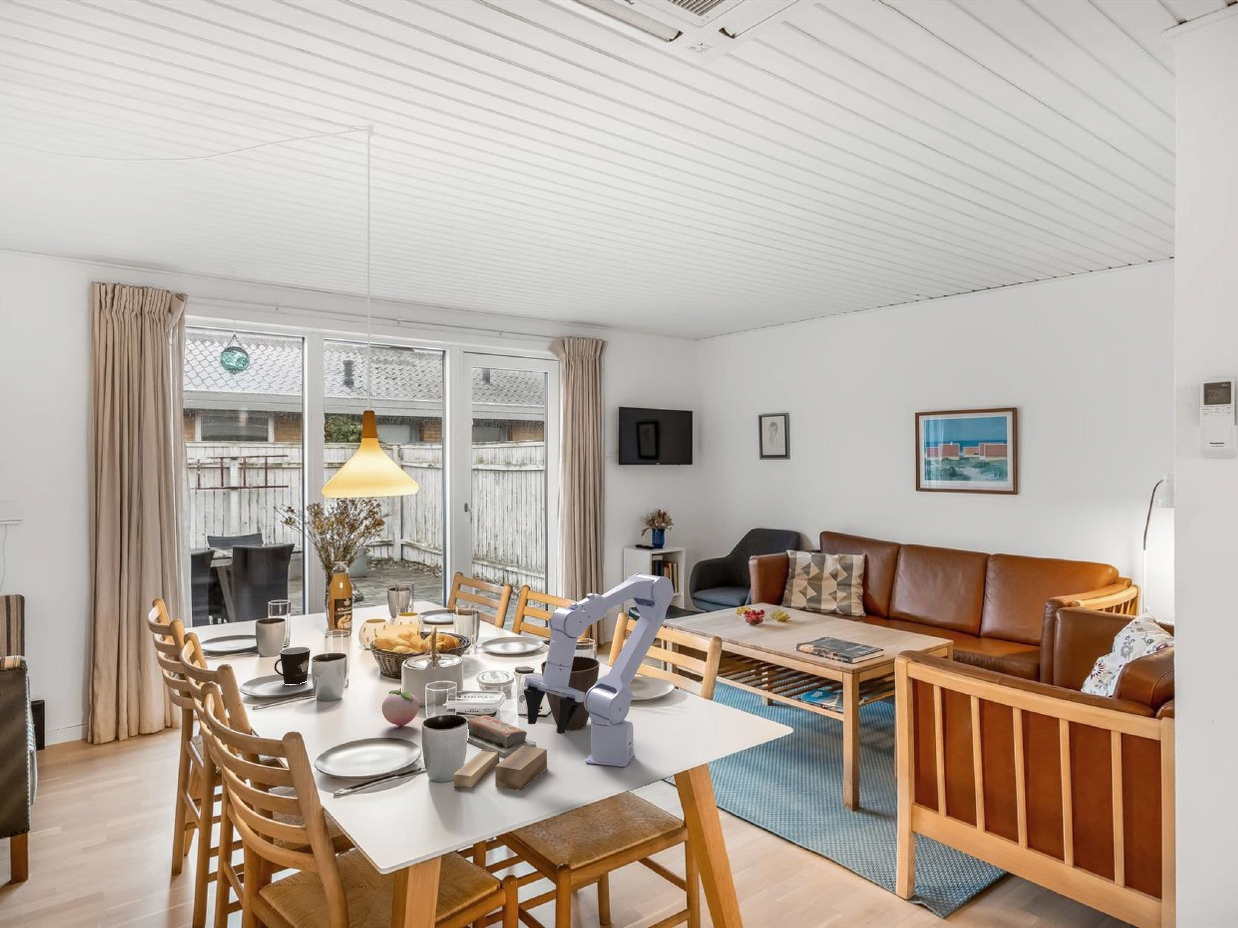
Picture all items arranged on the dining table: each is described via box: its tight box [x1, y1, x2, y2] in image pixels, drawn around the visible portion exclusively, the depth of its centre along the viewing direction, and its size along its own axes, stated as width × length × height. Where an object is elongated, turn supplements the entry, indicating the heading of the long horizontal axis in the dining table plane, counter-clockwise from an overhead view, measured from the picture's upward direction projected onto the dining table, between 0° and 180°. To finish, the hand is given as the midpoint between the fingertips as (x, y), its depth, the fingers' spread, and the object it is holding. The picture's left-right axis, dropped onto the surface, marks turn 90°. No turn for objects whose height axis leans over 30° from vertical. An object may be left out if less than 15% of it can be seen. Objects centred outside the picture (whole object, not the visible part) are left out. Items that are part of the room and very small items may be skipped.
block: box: [494, 746, 548, 791], centre depth 166 cm, size 6×12×4 cm, turn 158°
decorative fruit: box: [381, 687, 420, 728], centre depth 197 cm, size 9×8×10 cm
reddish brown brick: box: [466, 714, 537, 758], centre depth 186 cm, size 18×5×10 cm
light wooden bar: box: [453, 748, 500, 789], centre depth 168 cm, size 4×14×3 cm, turn 164°
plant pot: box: [540, 655, 601, 732], centre depth 197 cm, size 15×15×16 cm
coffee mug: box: [273, 646, 311, 684], centre depth 235 cm, size 12×9×10 cm
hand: (545, 728), depth 165 cm, fingers open, 7 cm apart
